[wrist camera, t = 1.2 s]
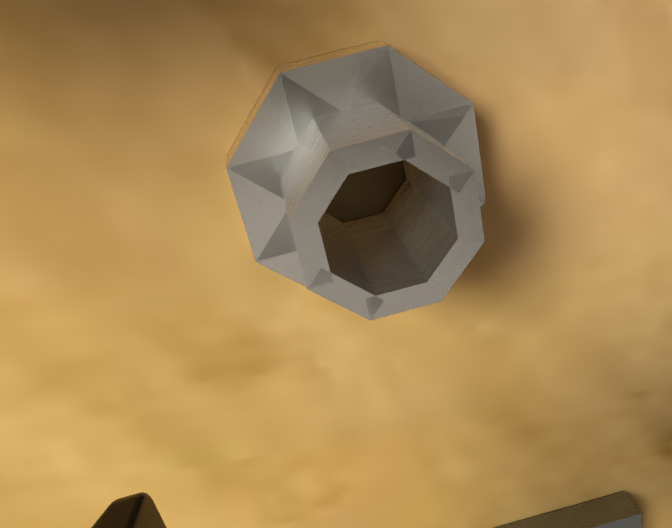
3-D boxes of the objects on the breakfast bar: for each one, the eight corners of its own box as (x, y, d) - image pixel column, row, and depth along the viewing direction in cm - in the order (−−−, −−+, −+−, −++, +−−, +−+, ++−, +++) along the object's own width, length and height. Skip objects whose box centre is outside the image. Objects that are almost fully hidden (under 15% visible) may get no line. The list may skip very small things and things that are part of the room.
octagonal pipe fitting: (447, 23, 17) (521, 34, 12) (477, 244, 20) (547, 319, 15) (205, 84, 17) (192, 119, 12) (272, 299, 20) (281, 392, 15)
